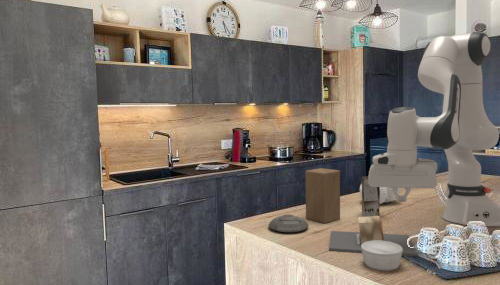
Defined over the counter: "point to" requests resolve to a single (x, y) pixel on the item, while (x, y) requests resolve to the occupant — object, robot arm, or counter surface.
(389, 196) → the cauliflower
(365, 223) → the maple cube
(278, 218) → the flying saucer
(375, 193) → the coffee box
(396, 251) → the ramekin
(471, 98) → the robot arm
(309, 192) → the wooden block
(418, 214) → the counter surface
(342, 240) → the rubber mat
